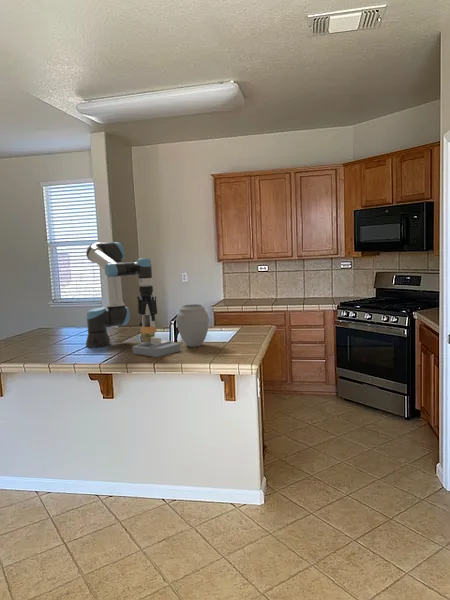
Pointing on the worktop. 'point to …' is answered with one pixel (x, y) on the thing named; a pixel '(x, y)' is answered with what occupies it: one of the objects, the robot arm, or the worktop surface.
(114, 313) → the robot arm
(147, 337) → the coffee cup
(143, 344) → the socket plate
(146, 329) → the plug
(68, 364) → the worktop surface
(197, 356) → the worktop surface
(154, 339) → the shutter
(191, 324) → the vase
